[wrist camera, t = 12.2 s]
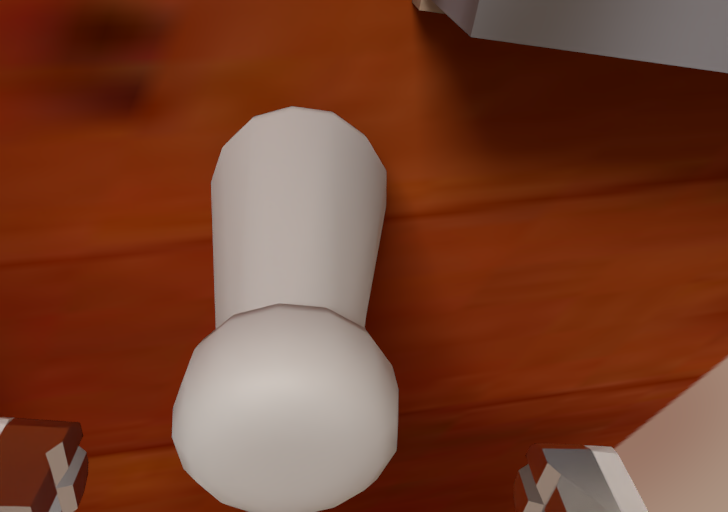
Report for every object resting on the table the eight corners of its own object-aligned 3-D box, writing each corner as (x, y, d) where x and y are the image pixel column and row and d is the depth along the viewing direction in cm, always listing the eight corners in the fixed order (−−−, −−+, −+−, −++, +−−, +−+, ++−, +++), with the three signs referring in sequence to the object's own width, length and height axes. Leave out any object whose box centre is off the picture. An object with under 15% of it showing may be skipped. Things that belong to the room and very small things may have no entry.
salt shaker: (305, 50, 18) (291, 280, 7) (411, 167, 21) (514, 463, 10) (189, 160, 20) (43, 475, 9) (299, 256, 23) (286, 588, 12)
